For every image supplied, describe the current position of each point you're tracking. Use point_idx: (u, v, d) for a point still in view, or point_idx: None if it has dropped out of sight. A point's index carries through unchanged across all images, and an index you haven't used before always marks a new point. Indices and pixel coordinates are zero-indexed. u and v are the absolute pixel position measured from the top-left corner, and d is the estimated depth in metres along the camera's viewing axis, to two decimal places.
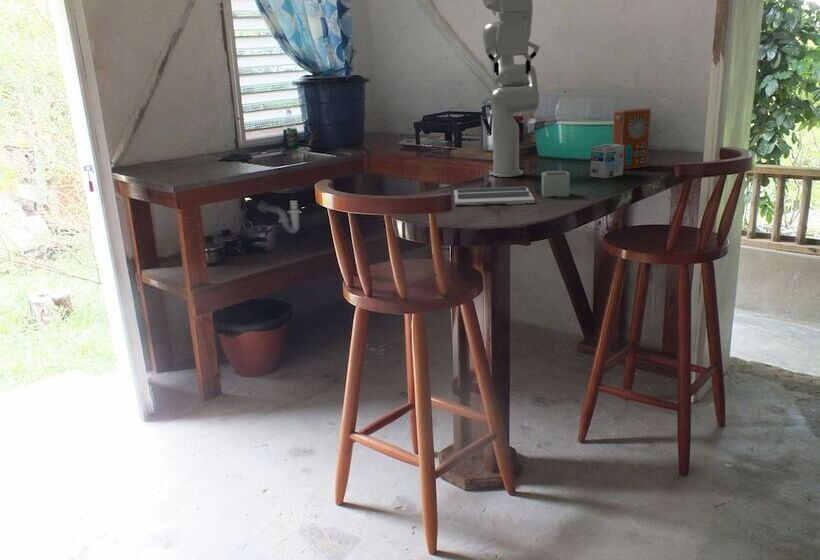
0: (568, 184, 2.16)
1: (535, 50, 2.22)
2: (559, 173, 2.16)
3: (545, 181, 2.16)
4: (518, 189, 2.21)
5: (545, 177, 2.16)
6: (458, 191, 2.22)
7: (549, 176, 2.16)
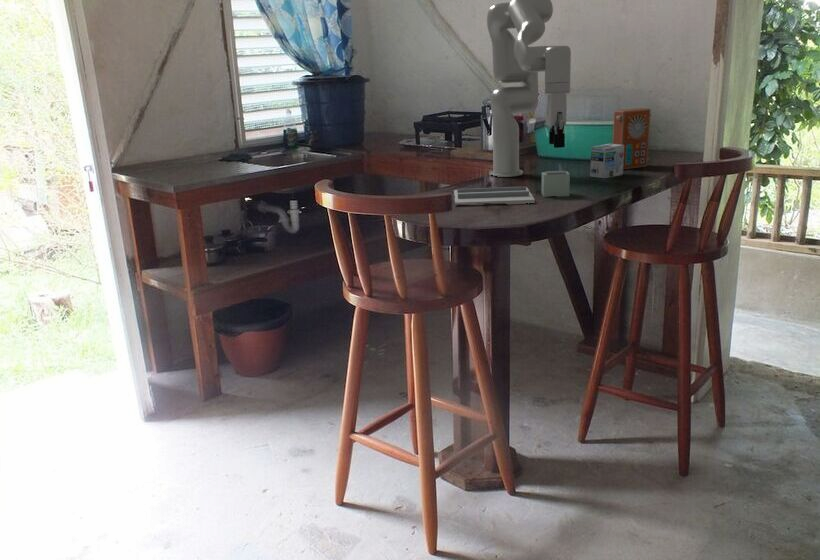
0: (568, 184, 2.16)
1: None
2: (559, 173, 2.16)
3: (545, 181, 2.16)
4: (518, 189, 2.21)
5: (545, 177, 2.16)
6: (458, 191, 2.22)
7: (549, 176, 2.16)
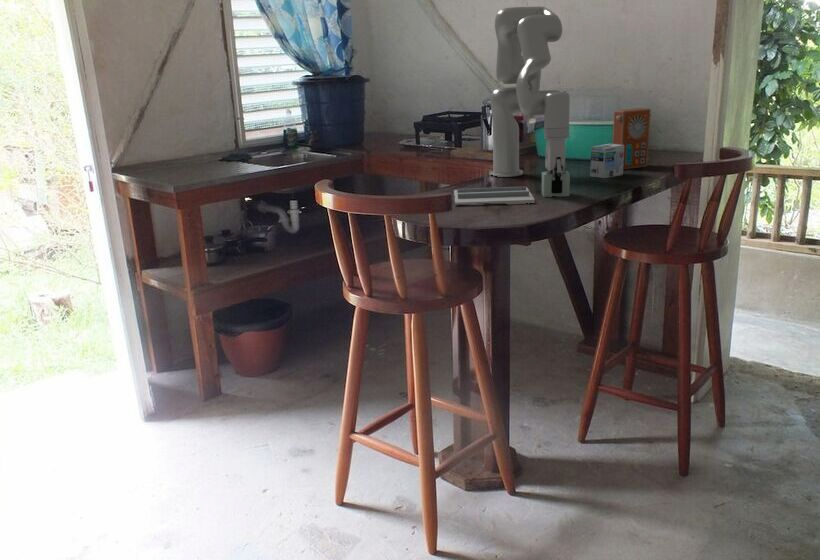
0: (568, 184, 2.16)
1: None
2: None
3: (545, 181, 2.16)
4: (518, 189, 2.21)
5: (545, 177, 2.16)
6: (458, 191, 2.22)
7: (549, 176, 2.16)
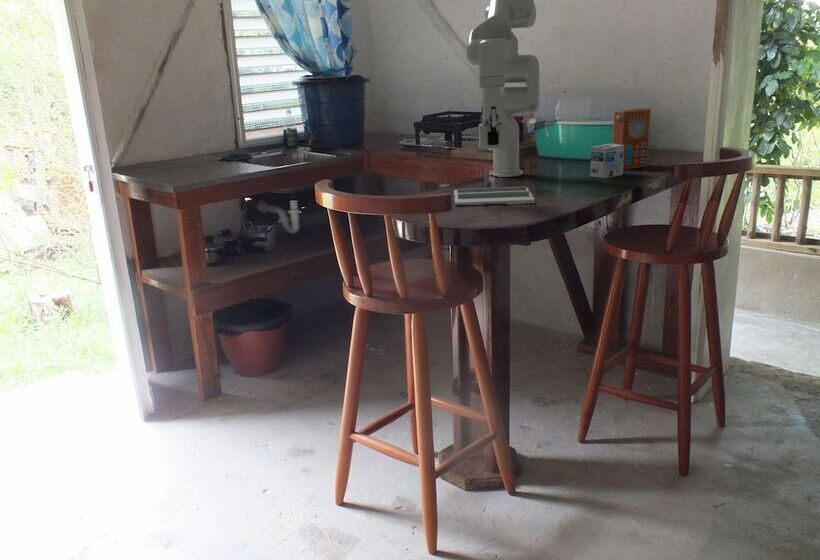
0: (505, 135, 2.10)
1: None
2: None
3: (482, 132, 2.11)
4: (518, 189, 2.21)
5: (481, 128, 2.10)
6: (458, 191, 2.22)
7: (485, 127, 2.10)
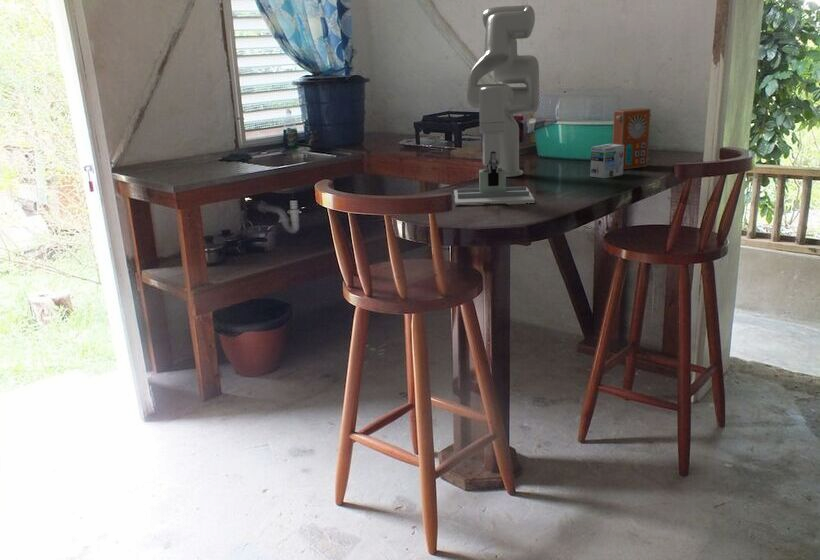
0: (504, 181, 2.15)
1: None
2: None
3: (482, 179, 2.15)
4: (518, 189, 2.21)
5: (481, 174, 2.15)
6: (458, 191, 2.22)
7: (485, 173, 2.15)
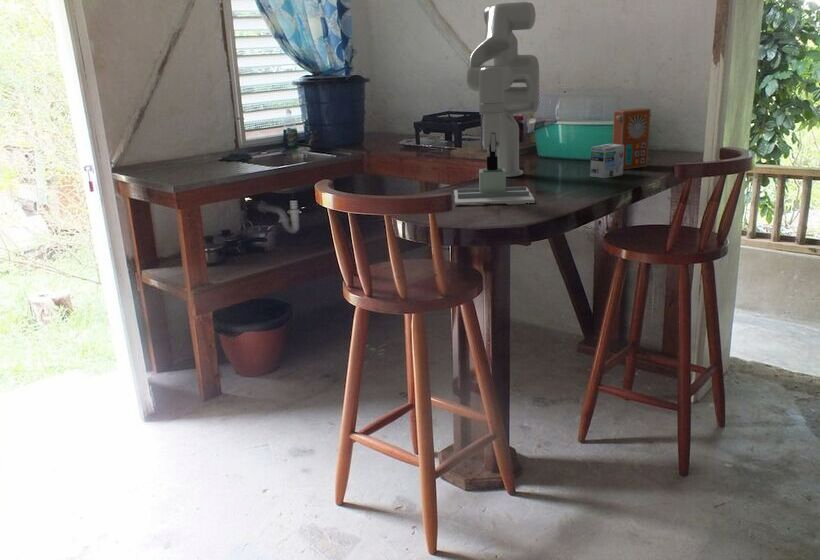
0: (504, 182, 2.15)
1: None
2: (495, 171, 2.14)
3: (482, 179, 2.15)
4: (518, 189, 2.21)
5: (481, 175, 2.14)
6: (458, 191, 2.22)
7: (485, 174, 2.14)
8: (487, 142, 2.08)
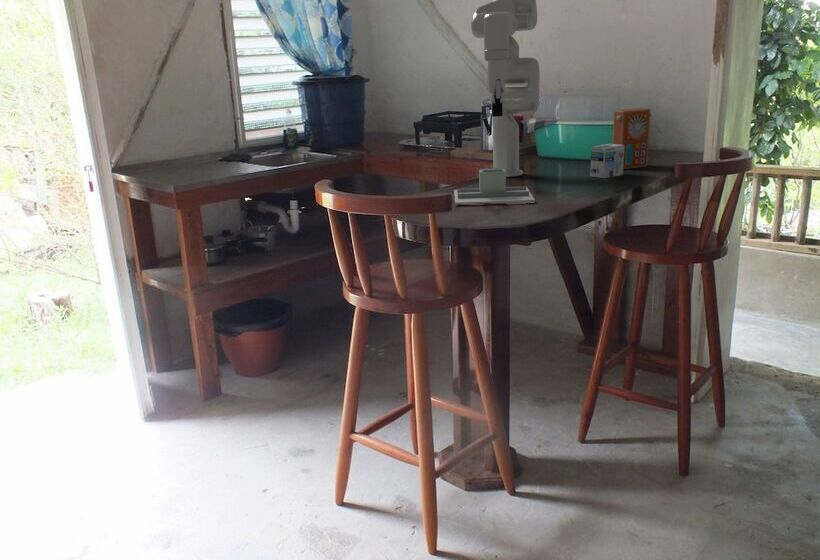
0: (504, 181, 2.15)
1: None
2: (495, 170, 2.15)
3: (482, 179, 2.15)
4: (518, 189, 2.21)
5: (481, 174, 2.15)
6: (458, 191, 2.22)
7: (485, 173, 2.15)
8: (492, 89, 2.12)
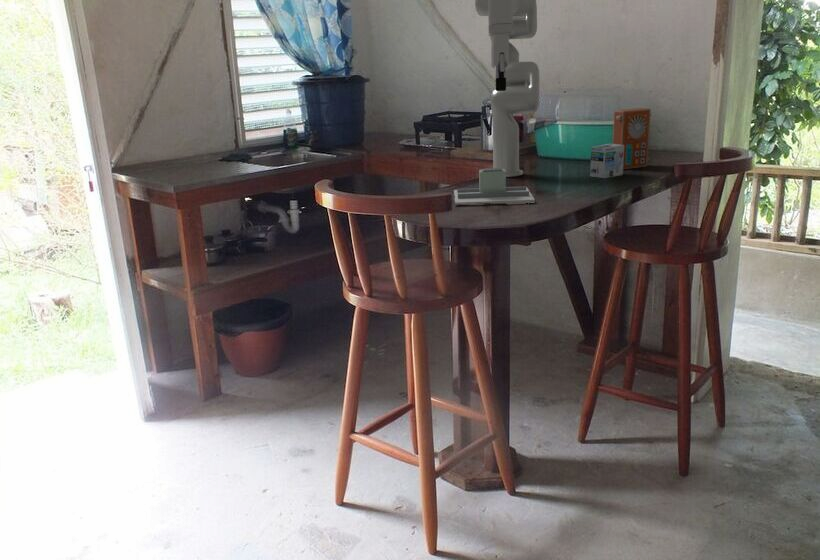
0: (504, 181, 2.15)
1: None
2: (495, 170, 2.15)
3: (482, 179, 2.15)
4: (518, 189, 2.21)
5: (481, 174, 2.15)
6: (458, 191, 2.22)
7: (485, 173, 2.15)
8: (496, 62, 2.16)
